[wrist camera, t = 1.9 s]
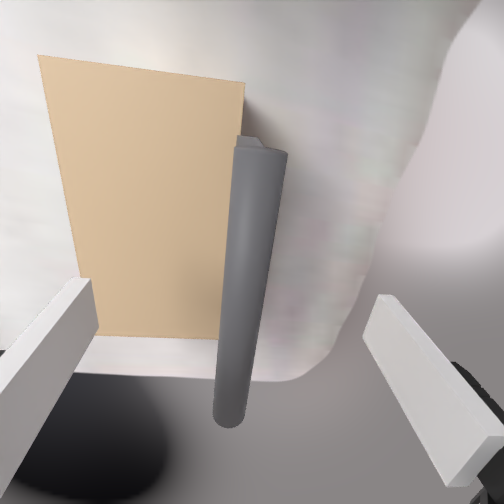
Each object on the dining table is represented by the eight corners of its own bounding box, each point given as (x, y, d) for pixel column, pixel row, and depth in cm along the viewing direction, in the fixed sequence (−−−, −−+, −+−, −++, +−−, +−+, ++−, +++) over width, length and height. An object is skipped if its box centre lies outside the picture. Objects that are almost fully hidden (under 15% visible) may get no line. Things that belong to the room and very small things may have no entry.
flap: (46, 56, 15) (-184, 5, 7) (267, 86, 16) (307, 75, 8) (96, 328, 23) (23, 453, 15) (237, 333, 25) (241, 451, 16)
